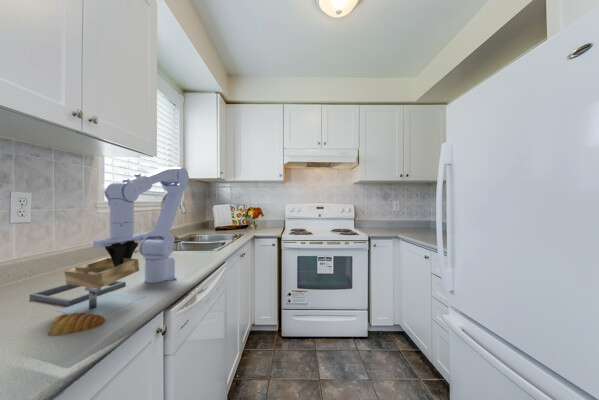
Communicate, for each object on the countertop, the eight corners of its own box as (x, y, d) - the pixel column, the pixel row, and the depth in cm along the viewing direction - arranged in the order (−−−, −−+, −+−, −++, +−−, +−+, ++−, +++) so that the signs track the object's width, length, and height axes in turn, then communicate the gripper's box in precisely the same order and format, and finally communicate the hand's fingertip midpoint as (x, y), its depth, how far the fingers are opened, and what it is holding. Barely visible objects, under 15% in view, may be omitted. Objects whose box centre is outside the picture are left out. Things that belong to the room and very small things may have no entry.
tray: (90, 283, 85) (90, 277, 85) (125, 288, 80) (125, 281, 80) (29, 302, 69) (29, 294, 69) (68, 309, 65) (68, 301, 65)
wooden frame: (110, 267, 74) (108, 251, 74) (139, 270, 71) (137, 254, 71) (66, 284, 63) (63, 265, 63) (98, 288, 60) (96, 269, 60)
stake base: (111, 294, 76) (111, 291, 76) (146, 299, 72) (146, 296, 72) (55, 314, 62) (55, 310, 62) (95, 322, 58) (95, 318, 58)
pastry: (111, 321, 60) (111, 305, 59) (95, 336, 53) (95, 319, 53) (65, 325, 57) (65, 309, 57) (43, 342, 51) (43, 324, 51)
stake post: (90, 305, 65) (90, 286, 65) (101, 307, 64) (101, 287, 64) (83, 308, 64) (84, 288, 64) (95, 310, 63) (95, 289, 63)
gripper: (134, 220, 80) (133, 260, 80) (85, 224, 66) (84, 273, 66) (151, 220, 78) (150, 262, 78) (104, 225, 64) (104, 276, 64)
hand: (121, 267), depth 72 cm, fingers closed on wooden frame
